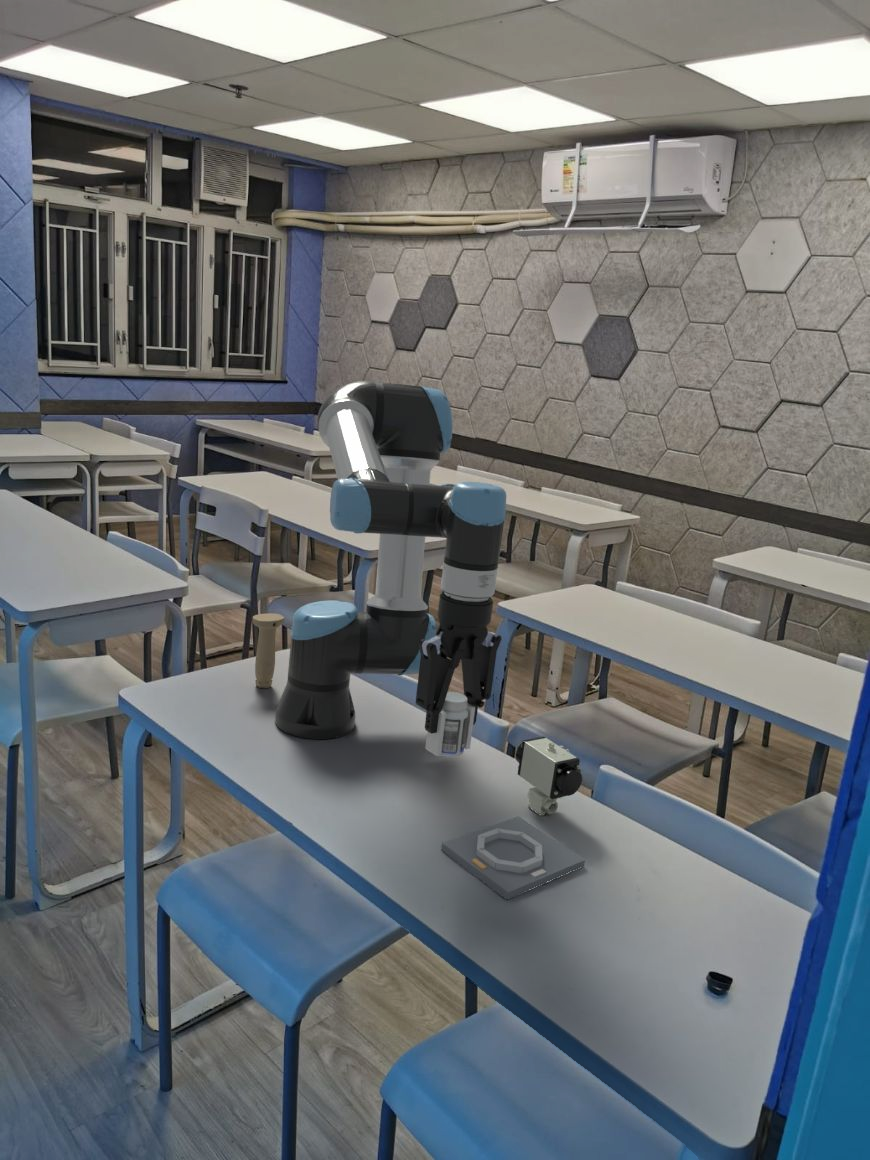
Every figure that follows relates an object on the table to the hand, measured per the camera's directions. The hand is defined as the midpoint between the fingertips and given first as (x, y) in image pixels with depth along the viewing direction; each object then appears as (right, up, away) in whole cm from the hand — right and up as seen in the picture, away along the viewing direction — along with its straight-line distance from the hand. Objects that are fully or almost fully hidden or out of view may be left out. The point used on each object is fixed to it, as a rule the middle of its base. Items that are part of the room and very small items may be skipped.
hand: (447, 748), depth 127 cm
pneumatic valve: (+16, -14, +17) cm, 27 cm away
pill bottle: (0, -1, 0) cm, 1 cm away
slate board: (+10, -17, +2) cm, 19 cm away
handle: (-38, +2, +54) cm, 66 cm away
